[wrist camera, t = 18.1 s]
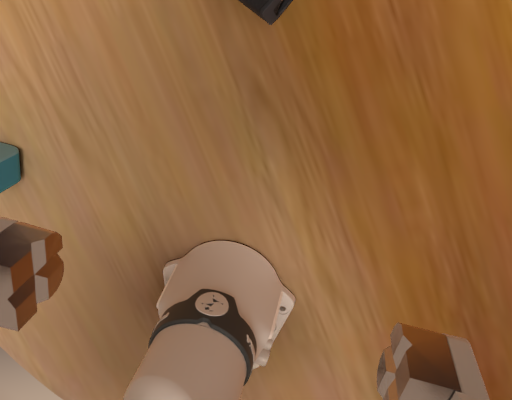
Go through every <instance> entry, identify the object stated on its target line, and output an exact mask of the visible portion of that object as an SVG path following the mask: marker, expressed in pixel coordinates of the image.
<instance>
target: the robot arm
mask: <svg viewBox="0 0 512 400" xmlns="http://www.w3.org/2000/svg"><path fill="white" fill-rule="evenodd" d="M62 248H63V246H62V236H61V235H60V234H59V233H57V232H54V231H51V230H47V229H44V228H41V227H37V226H34V225H30V224H27V223H23V222H18V221H15V220H12V219H8V218H5V217H0V327H3V328H7V329H11V330H15V331H19V330H20V329H21V328H22V327H23V326H24V325H25V324H26V323H27V321H28V320H29V319H30V318H31V317H32V316H33V315H34V314H35V313H36V312H37V303H40V302H42V301H45V300H48V299H49V298H50V297H51V296H52V295H53V294H54V293H55V292H56V291H57V289H58V287H59V285H60V283H61V281H62V277H63V272H64V264H63V261H62V260H61V258H60V257H59V255H58V254H57V253H58V252H59V251H60V250H61V249H62ZM163 277H164V284H165V288H164V290H163V292H162V294H161V296H160V298H159V300H158V302H157V305H156V307H157V308H158V315H159V319H160V320H159V321H158V322H157V324H156V326H155V328H154V330H153V332H152V336H151V338H150V341H149V346H148V348H149V349H148V351H147V353H146V354H145V356H144V358H143V360H142V362H141V363H140V365H139V367H138V369H137V371H136V373H135V374H134V376H133V378H132V380H131V382H130V383H129V385H128V387H127V389H126V391H125V394H124V398H123V400H240V398H241V394H242V389H243V386H244V385H245V384H246V383H247V381H248V379H249V377H250V375H251V373H252V370H253V369H254V368H258V367H259V366H260V365H261V366H265V365H266V363H267V361H268V358H269V355H270V349H271V346H272V343H273V342H274V340H275V338H276V337H277V335H278V333H279V331H280V330H281V328H282V326H283V324H284V323H285V321H286V319H287V318H288V316H289V314H290V312H291V311H292V309H293V307H294V304H295V301H296V300H295V297H294V295H293V294H292V293H291V292H290V291H289V290H288V289H287V288H286V287H284V286H283V285H282V283H281V282H280V280H279V278H278V276H277V274H276V272H275V270H274V268H273V267H272V266H271V264H270V263H269V262H268V261H267V260H266V259H265V258H264V257H263V256H262V255H261V254H259V253H258V252H256V251H255V250H253V249H251V248H249V247H247V246H245V245H242V244H239V243H235V242H230V241H212V242H207V243H204V244H201V245H199V246H197V247H195V248H194V249H192V250H191V251H190V252H189V253H188V254H187V255H185V256H184V257H182V258H180V259H176V260H173V261H170V262H168V263H166V265H165V267H164V269H163ZM281 306H283V307H285V308H282V307H281ZM390 336H391V346H389V347H387V348H385V349H384V351H383V353H382V356H381V358H380V362H379V366H378V371H377V391H378V392H379V394H380V395H381V396H382V398H383V400H490V399H489V396H488V393H487V391H486V388H485V385H484V382H483V379H482V376H481V374H480V371H479V368H478V365H477V362H476V359H475V356H474V354H473V351H472V348H471V345H470V343H469V341H468V340H467V339H464V338H460V337H456V336H452V335H448V334H441V333H437V332H433V331H429V330H425V329H422V328H418V327H414V326H410V325H406V324H402V323H397V324H396V325H395V326H394V328H393V330H392V333H391V335H390Z"/></svg>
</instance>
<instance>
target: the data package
mask: <svg viewBox="0 0 512 400" xmlns="http://www.w3.org/2000/svg"><path fill="white" fill-rule="evenodd" d="M20 179H21V175H20V161H19V150H18V148H17V147H15V146H12V145H9V144H5V143H1V142H0V193H1V192H3V191H4V190H6V189H8V188H9V187H11V186H13V185H14V184H16V183H18V182H19V181H20Z"/></svg>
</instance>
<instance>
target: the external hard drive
mask: <svg viewBox="0 0 512 400" xmlns="http://www.w3.org/2000/svg"><path fill="white" fill-rule="evenodd" d="M239 1H240V2H241V3H243V4H244V5H245V6H247V7H248V8H249V9H250V10H252V11H253V12H255V13H256V14H257V15H258V16H260V17H261V18H262V19H264V20H265V21H266V22H267V23H269V25H272V24H273V23H274V22H275V21H276V20H277V19H278V18H279V17H280V15H281V14H282V13H283V12H284V11H285V9H286V8H287V7H288V6H289V4H290V3H291V2H292V1H293V0H239Z"/></svg>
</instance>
